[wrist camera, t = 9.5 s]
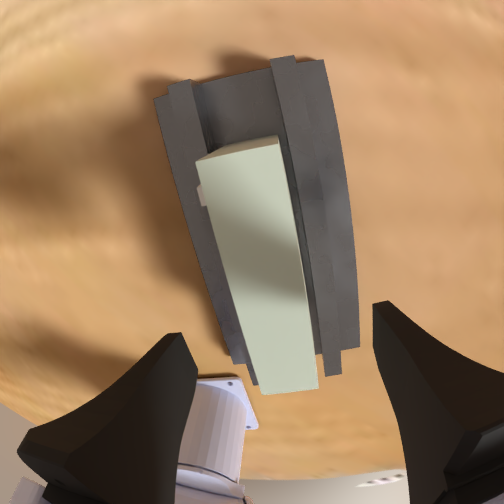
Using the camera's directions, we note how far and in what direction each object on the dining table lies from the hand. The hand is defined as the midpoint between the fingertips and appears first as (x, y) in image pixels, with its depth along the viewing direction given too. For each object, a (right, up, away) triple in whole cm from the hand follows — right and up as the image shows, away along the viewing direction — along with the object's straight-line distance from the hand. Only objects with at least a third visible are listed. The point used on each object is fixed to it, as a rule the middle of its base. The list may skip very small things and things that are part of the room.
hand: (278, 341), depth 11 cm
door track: (0, +4, +9) cm, 10 cm away
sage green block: (0, +4, +8) cm, 9 cm away
